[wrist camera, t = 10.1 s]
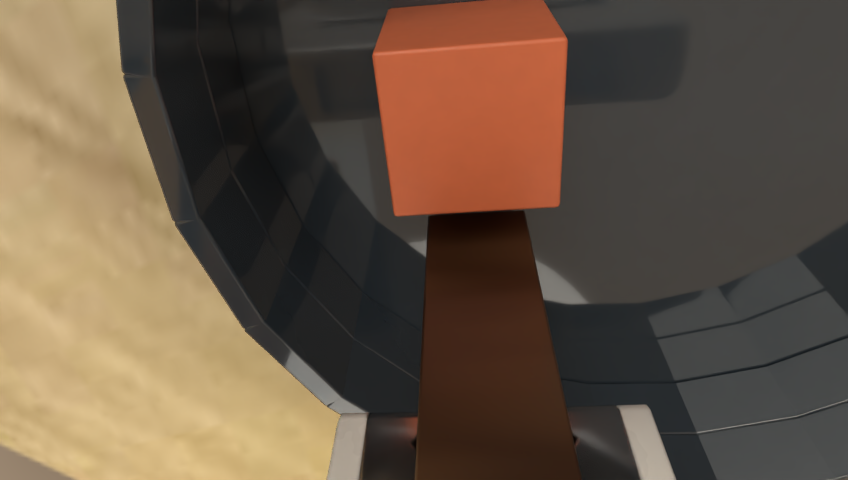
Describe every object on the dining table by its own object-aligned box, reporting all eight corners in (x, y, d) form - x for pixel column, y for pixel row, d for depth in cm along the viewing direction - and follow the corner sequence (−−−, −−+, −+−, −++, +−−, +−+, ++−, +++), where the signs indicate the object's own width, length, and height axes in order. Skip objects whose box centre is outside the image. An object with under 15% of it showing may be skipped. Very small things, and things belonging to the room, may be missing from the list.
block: (538, 138, 15) (559, 208, 12) (403, 147, 15) (393, 218, 12) (542, -6, 13) (568, 36, 10) (387, 7, 13) (370, 52, 10)
